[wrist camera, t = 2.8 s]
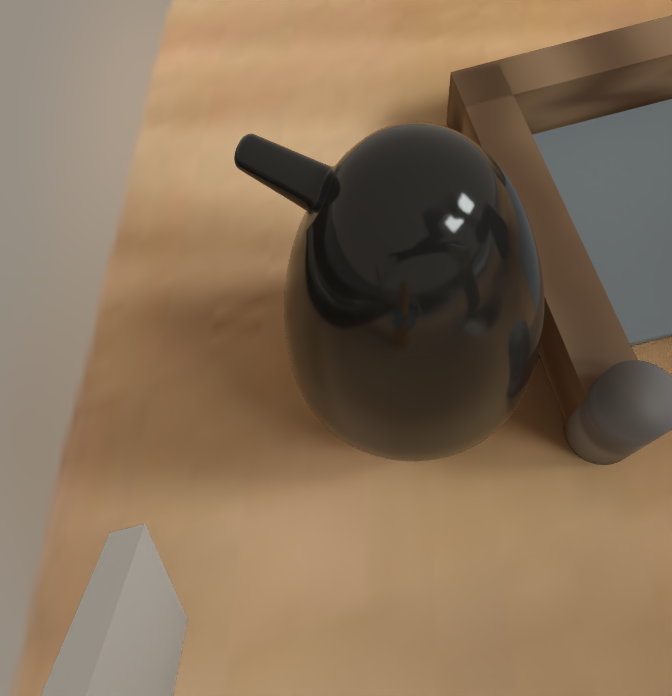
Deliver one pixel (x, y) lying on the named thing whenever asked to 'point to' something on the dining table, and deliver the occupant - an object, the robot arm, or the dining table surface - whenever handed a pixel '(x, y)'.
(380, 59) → the dining table surface
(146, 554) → the robot arm
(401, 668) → the dining table surface
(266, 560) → the dining table surface
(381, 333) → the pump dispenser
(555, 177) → the pad
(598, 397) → the wooden corner bracket
